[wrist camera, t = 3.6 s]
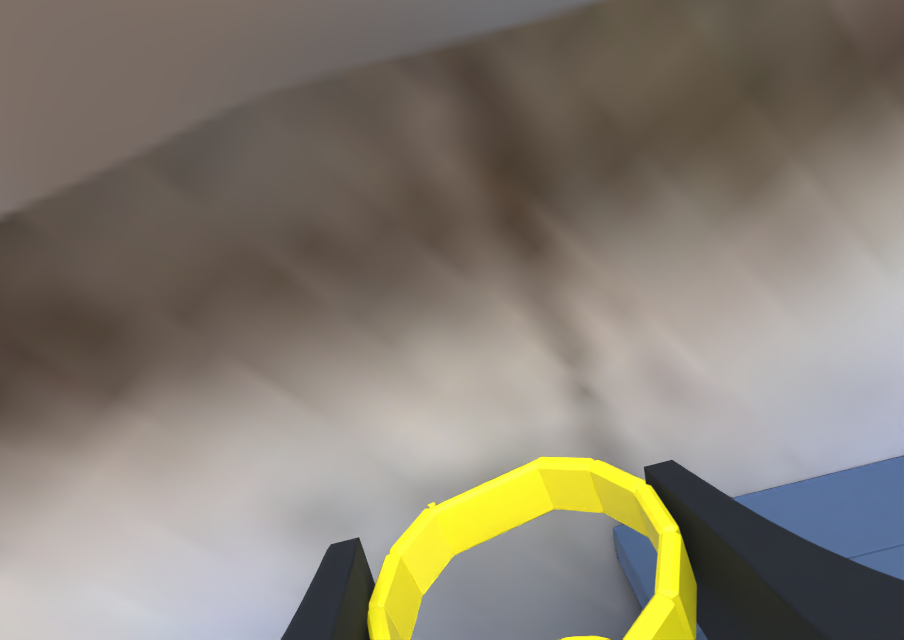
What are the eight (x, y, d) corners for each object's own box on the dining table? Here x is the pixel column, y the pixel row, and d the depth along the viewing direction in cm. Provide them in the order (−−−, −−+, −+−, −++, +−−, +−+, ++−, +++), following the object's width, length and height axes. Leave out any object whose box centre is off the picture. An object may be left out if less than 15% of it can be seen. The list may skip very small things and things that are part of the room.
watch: (403, 587, 15) (414, 877, 10) (354, 500, 14) (335, 768, 9) (636, 496, 15) (786, 739, 9) (603, 401, 14) (749, 610, 8)
